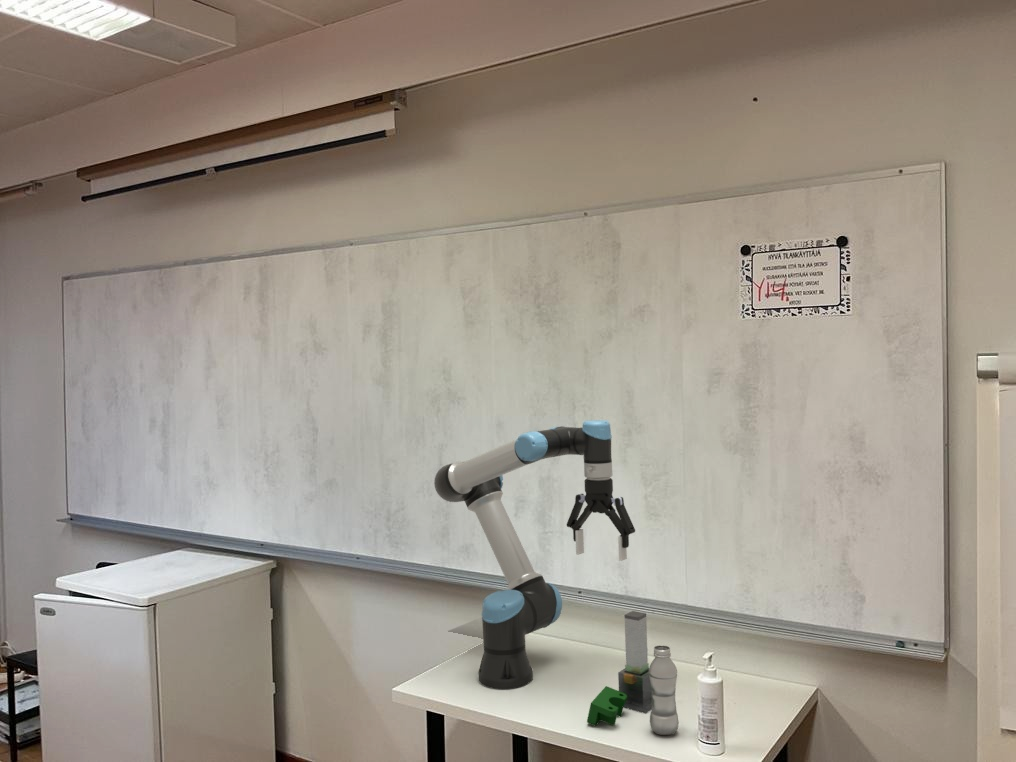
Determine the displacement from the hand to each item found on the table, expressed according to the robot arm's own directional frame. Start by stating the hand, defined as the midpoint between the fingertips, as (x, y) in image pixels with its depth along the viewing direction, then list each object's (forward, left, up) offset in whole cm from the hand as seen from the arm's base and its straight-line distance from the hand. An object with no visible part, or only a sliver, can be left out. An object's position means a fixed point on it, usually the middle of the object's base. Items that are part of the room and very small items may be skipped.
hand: (601, 556), depth 222 cm
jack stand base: (+13, -5, -35) cm, 37 cm away
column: (+13, -5, -27) cm, 30 cm away
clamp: (+12, -18, -35) cm, 41 cm away
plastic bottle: (+27, -17, -35) cm, 47 cm away
